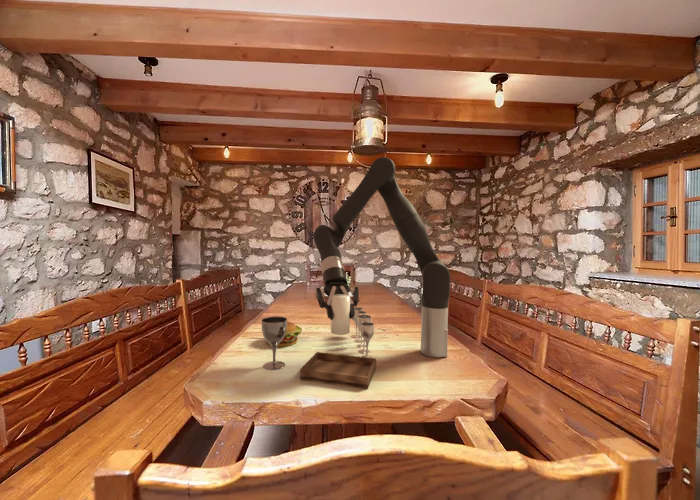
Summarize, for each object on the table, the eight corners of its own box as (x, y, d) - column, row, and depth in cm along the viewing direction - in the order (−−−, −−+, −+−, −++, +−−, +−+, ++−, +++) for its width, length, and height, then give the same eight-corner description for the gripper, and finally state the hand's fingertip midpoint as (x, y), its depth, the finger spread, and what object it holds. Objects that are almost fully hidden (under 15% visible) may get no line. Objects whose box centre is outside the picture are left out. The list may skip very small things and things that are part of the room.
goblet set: (376, 360, 105) (377, 321, 104) (359, 361, 104) (360, 322, 104) (362, 334, 133) (362, 304, 132) (349, 334, 132) (349, 304, 131)
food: (284, 351, 112) (284, 329, 112) (257, 344, 119) (257, 323, 119) (308, 341, 124) (309, 321, 123) (283, 334, 131) (283, 316, 131)
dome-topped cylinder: (351, 330, 95) (352, 294, 95) (346, 335, 90) (347, 298, 89) (334, 328, 97) (334, 293, 96) (328, 333, 92) (329, 297, 91)
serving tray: (376, 368, 98) (376, 358, 98) (367, 389, 85) (367, 377, 85) (316, 361, 103) (316, 351, 103) (300, 379, 90) (300, 369, 90)
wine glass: (291, 362, 102) (291, 317, 101) (278, 372, 94) (278, 323, 94) (270, 359, 104) (270, 315, 104) (256, 368, 97) (256, 321, 96)
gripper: (313, 266, 98) (319, 312, 87) (356, 265, 102) (368, 310, 91) (310, 280, 103) (316, 325, 92) (352, 279, 107) (362, 322, 96)
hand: (342, 317), depth 92 cm, fingers closed on dome-topped cylinder, 5 cm apart
